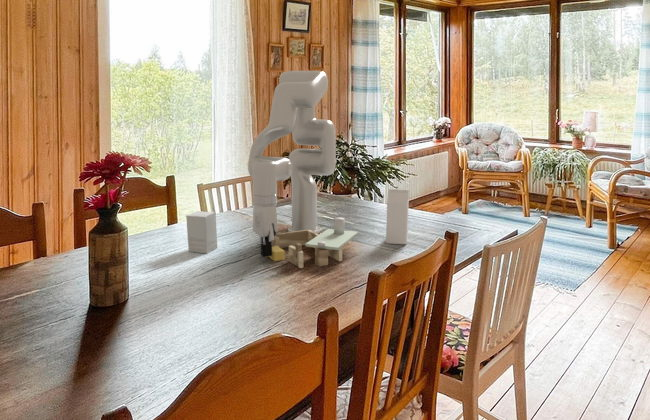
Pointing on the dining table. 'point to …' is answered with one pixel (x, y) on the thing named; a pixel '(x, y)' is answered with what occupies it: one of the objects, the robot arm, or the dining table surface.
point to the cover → (333, 236)
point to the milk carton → (397, 216)
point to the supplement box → (201, 231)
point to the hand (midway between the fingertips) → (266, 255)
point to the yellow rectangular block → (277, 254)
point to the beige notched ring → (296, 252)
